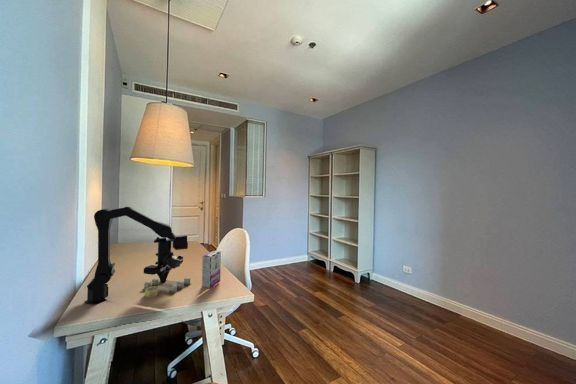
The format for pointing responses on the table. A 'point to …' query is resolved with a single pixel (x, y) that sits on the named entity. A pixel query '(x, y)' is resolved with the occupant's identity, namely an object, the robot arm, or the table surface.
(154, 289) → the hexagonal box
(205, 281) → the candy bar box
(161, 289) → the board
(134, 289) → the table surface
